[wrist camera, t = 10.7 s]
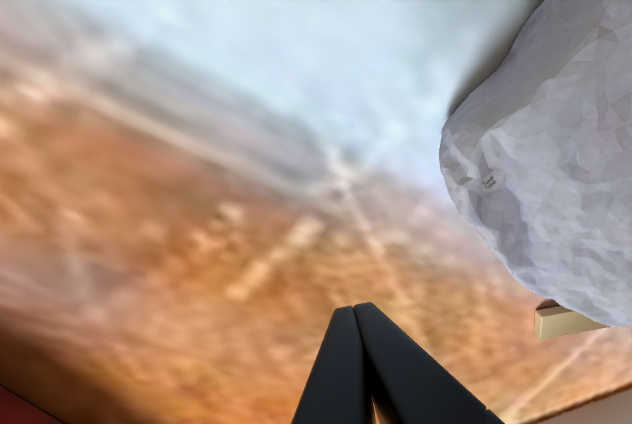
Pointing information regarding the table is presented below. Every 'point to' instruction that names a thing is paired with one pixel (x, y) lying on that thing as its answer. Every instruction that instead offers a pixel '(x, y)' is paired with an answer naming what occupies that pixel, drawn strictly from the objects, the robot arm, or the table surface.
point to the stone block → (554, 157)
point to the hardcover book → (21, 411)
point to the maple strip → (562, 322)
